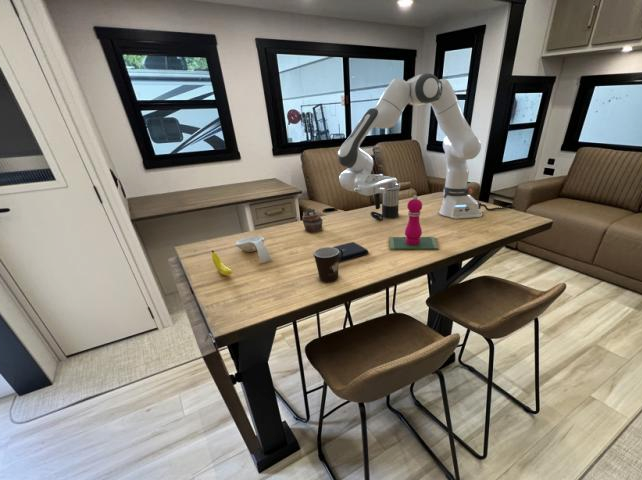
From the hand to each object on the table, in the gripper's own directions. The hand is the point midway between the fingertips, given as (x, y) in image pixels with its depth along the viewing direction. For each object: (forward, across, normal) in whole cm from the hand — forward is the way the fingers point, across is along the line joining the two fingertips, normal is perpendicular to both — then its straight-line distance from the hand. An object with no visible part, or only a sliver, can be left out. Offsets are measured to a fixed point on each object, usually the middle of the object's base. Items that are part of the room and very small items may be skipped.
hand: (392, 188), depth 133 cm
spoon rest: (-32, -50, +21) cm, 63 cm away
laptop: (-4, -28, +22) cm, 36 cm away
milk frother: (-21, +20, +22) cm, 36 cm away
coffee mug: (+8, -44, +21) cm, 50 cm away
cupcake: (-36, -17, +21) cm, 45 cm away
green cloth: (+12, 0, +22) cm, 25 cm away
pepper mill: (+12, 0, +21) cm, 24 cm away
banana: (-24, -68, +21) cm, 75 cm away
